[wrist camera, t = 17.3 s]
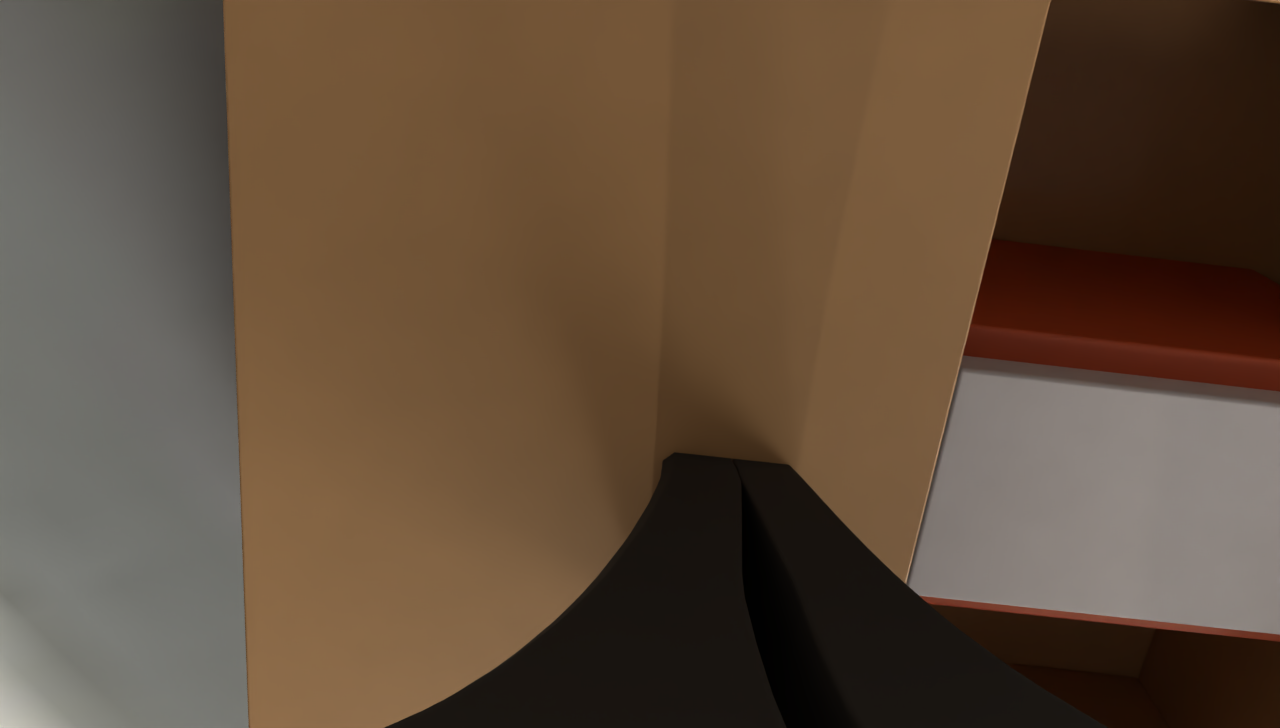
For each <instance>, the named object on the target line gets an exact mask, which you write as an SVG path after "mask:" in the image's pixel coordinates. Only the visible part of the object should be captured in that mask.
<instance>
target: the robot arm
mask: <svg viewBox="0 0 1280 728" xmlns="http://www.w3.org/2000/svg"><path fill="white" fill-rule="evenodd" d="M385 728H1108V727H1106V726H1105V725H1103V724H1101V723H1099V722H1098V721H1096V720H1094V719H1093V718H1091V717H1089V716H1088V715H1086V714H1084V713H1083V712H1081V711H1079V710H1078V709H1076V708H1075V707H1073V706H1071V705H1070V704H1068V703H1066V702H1065V701H1063V700H1061V699H1060V698H1058V697H1056V696H1055V695H1053V694H1051V693H1050V692H1048V691H1046V690H1045V689H1043V688H1042V687H1040V686H1039V685H1037V684H1036V683H1034V682H1032V681H1031V680H1029V679H1028V678H1026V677H1025V676H1023V675H1022V674H1020V673H1019V672H1017V671H1016V670H1014V669H1013V668H1011V667H1010V666H1009V665H1007V664H1006V663H1004V662H1003V661H1002V660H1000V659H999V658H998V657H996V656H995V655H994V654H992V653H991V652H989V651H988V650H987V649H985V648H984V647H983V646H981V645H980V644H979V643H977V642H976V641H974V640H973V639H972V638H970V637H969V636H968V635H966V634H965V633H964V632H962V631H961V630H960V629H958V628H957V627H956V626H955V625H953V624H952V623H951V622H950V621H948V620H947V619H946V618H945V617H943V616H942V615H941V614H940V613H938V612H937V611H936V610H935V609H934V608H933V607H931V606H930V605H929V604H928V603H927V602H926V601H925V600H924V599H922V598H921V597H920V596H919V595H918V594H917V593H916V592H914V591H913V590H912V589H911V588H910V587H909V586H908V585H906V584H905V583H904V582H903V581H902V580H901V579H900V578H899V577H898V576H896V575H895V574H894V573H893V572H892V571H891V570H890V569H889V568H888V567H887V566H886V565H885V564H884V563H883V562H882V561H881V560H880V559H879V558H878V557H877V556H876V555H875V554H874V553H873V552H872V551H871V550H869V549H868V548H867V547H866V545H865V544H864V543H863V542H862V541H861V540H860V539H859V538H858V537H857V536H856V535H855V534H854V533H853V532H852V531H851V530H850V529H849V528H848V527H847V526H846V525H845V524H844V523H843V522H842V521H841V520H840V519H839V517H838V516H837V515H836V514H835V513H834V512H833V511H832V510H831V509H830V508H829V507H828V506H827V504H826V503H825V502H824V501H823V500H822V499H821V498H820V497H819V496H818V495H817V494H816V492H815V491H814V490H813V489H812V488H811V487H810V486H809V485H808V484H807V483H806V482H805V480H804V479H803V478H802V477H801V476H800V475H799V474H798V473H797V472H796V471H795V470H794V469H793V468H792V467H791V466H790V465H788V464H779V463H770V462H760V461H751V460H741V459H731V458H723V457H714V456H705V455H696V454H686V453H677V452H674V453H673V454H671V455H670V456H669V457H667V458H666V459H664V460H663V462H662V470H661V477H660V480H659V482H658V485H657V487H656V489H655V491H654V493H653V495H652V497H651V500H650V502H649V503H648V505H647V507H646V509H645V510H644V512H643V513H642V515H641V517H640V518H639V520H638V522H637V523H636V525H635V526H634V528H633V530H632V531H631V533H630V534H629V536H628V537H627V539H626V540H625V542H624V543H623V544H622V546H621V547H620V548H619V549H618V551H617V552H616V553H615V555H614V556H613V557H612V558H611V560H610V561H609V562H608V564H607V565H606V566H605V567H604V569H603V570H602V571H601V573H600V574H599V575H598V576H597V577H596V579H595V580H594V581H593V582H592V583H591V584H590V585H589V586H588V587H587V589H586V590H585V591H584V592H583V593H582V594H581V595H580V596H579V597H578V598H577V599H576V600H575V601H574V602H573V603H572V604H571V605H570V606H569V607H568V608H567V609H566V610H565V611H564V612H563V613H562V614H561V615H560V616H559V617H558V618H557V619H556V620H555V621H553V622H552V623H551V624H550V625H549V626H548V627H546V628H545V629H544V630H543V631H542V632H540V633H539V634H538V635H537V636H536V637H535V638H533V639H532V640H531V641H530V642H529V643H527V644H526V645H525V646H524V647H523V648H521V649H520V650H519V651H518V652H516V653H515V654H514V655H512V656H511V657H510V658H508V659H507V660H506V661H504V662H503V663H501V664H500V665H499V666H497V667H496V668H494V669H493V670H491V671H490V672H488V673H487V674H485V675H483V676H482V677H480V678H479V679H477V680H475V681H474V682H472V683H471V684H469V685H467V686H466V687H464V688H463V689H461V690H459V691H458V692H456V693H455V694H453V695H451V696H449V697H448V698H446V699H444V700H442V701H440V702H438V703H436V704H434V705H432V706H431V707H429V708H427V709H425V710H423V711H420V712H418V713H416V714H414V715H411V716H409V717H407V718H405V719H402V720H400V721H398V722H396V723H393V724H391V725H389V726H387V727H385Z"/></svg>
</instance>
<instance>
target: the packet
mask: <svg viewBox="0 0 1280 728" xmlns="http://www.w3.org/2000/svg"><path fill="white" fill-rule="evenodd" d="M906 585H908V586H909V587H910V588H911V589H912V590H913V591H914V592H916V593H917V594H918V595H919V596H920V597H921V598H922V599H924V600H925V601H926V602H927V603H928V604H934V605H943V606H953V607H962V608H971V609H980V610H990V611H999V612H1008V613H1018V614H1027V615H1036V616H1045V617H1055V618H1064V619H1073V620H1082V621H1092V622H1101V623H1110V624H1120V625H1129V626H1138V627H1147V628H1157V629H1166V630H1175V631H1185V632H1194V633H1203V634H1212V635H1222V636H1231V637H1240V638H1249V639H1259V640H1268V641H1277V642H1280V285H1279V284H1277V283H1275V282H1274V281H1272V280H1270V279H1268V278H1267V277H1265V276H1263V275H1261V274H1260V273H1258V272H1256V271H1254V270H1253V269H1245V268H1236V267H1227V266H1219V265H1210V264H1202V263H1193V262H1185V261H1176V260H1167V259H1159V258H1150V257H1142V256H1133V255H1124V254H1116V253H1107V252H1099V251H1090V250H1081V249H1073V248H1064V247H1056V246H1047V245H1038V244H1030V243H1021V242H1013V241H1004V240H995V239H992V240H991V244H990V248H989V252H988V256H987V260H986V264H985V268H984V272H983V276H982V280H981V284H980V288H979V292H978V296H977V300H976V304H975V308H974V312H973V316H972V320H971V324H970V328H969V332H968V336H967V340H966V344H965V348H964V353H963V357H962V361H961V365H960V369H959V373H958V377H957V381H956V385H955V389H954V393H953V397H952V401H951V405H950V409H949V413H948V417H947V421H946V425H945V429H944V433H943V437H942V441H941V445H940V449H939V453H938V457H937V461H936V465H935V469H934V473H933V477H932V482H931V486H930V490H929V494H928V498H927V502H926V506H925V510H924V514H923V518H922V522H921V526H920V530H919V534H918V538H917V542H916V546H915V550H914V554H913V558H912V562H911V566H910V570H909V574H908V578H907V582H906Z"/></svg>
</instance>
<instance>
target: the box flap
mask: <svg viewBox="0 0 1280 728" xmlns="http://www.w3.org/2000/svg"><path fill="white" fill-rule="evenodd" d="M1050 2H1051V0H223V18H224V46H225V74H226V102H227V130H228V158H229V186H230V214H231V242H232V270H233V298H234V326H235V354H236V382H237V410H238V438H239V466H240V494H241V522H242V550H243V578H244V606H245V634H246V662H247V690H248V718H249V728H385V727H387V726H389V725H391V724H393V723H396V722H398V721H400V720H402V719H405V718H407V717H409V716H411V715H414V714H416V713H418V712H420V711H423V710H425V709H427V708H429V707H431V706H432V705H434V704H436V703H438V702H440V701H442V700H444V699H446V698H448V697H449V696H451V695H453V694H455V693H456V692H458V691H459V690H461V689H463V688H464V687H466V686H467V685H469V684H471V683H472V682H474V681H475V680H477V679H479V678H480V677H482V676H483V675H485V674H487V673H488V672H490V671H491V670H493V669H494V668H496V667H497V666H499V665H500V664H501V663H503V662H504V661H506V660H507V659H508V658H510V657H511V656H512V655H514V654H515V653H516V652H518V651H519V650H520V649H521V648H523V647H524V646H525V645H526V644H527V643H529V642H530V641H531V640H532V639H533V638H535V637H536V636H537V635H538V634H539V633H540V632H542V631H543V630H544V629H545V628H546V627H548V626H549V625H550V624H551V623H552V622H553V621H555V620H556V619H557V618H558V617H559V616H560V615H561V614H562V613H563V612H564V611H565V610H566V609H567V608H568V607H569V606H570V605H571V604H572V603H573V602H574V601H575V600H576V599H577V598H578V597H579V596H580V595H581V594H582V593H583V592H584V591H585V590H586V589H587V587H588V586H589V585H590V584H591V583H592V582H593V581H594V580H595V579H596V577H597V576H598V575H599V574H600V573H601V571H602V570H603V569H604V567H605V566H606V565H607V564H608V562H609V561H610V560H611V558H612V557H613V556H614V555H615V553H616V552H617V551H618V549H619V548H620V547H621V546H622V544H623V543H624V542H625V540H626V539H627V537H628V536H629V534H630V533H631V531H632V530H633V528H634V526H635V525H636V523H637V522H638V520H639V518H640V517H641V515H642V513H643V512H644V510H645V509H646V507H647V505H648V503H649V502H650V500H651V497H652V495H653V493H654V491H655V489H656V487H657V485H658V482H659V480H660V477H661V470H662V462H663V460H664V459H666V458H667V457H669V456H670V455H671V454H673V453H674V452H677V453H686V454H696V455H705V456H714V457H723V458H731V459H741V460H751V461H760V462H770V463H779V464H788V465H790V466H791V467H792V468H793V469H794V470H795V471H796V472H797V473H798V474H799V475H800V476H801V477H802V478H803V479H804V480H805V482H806V483H807V484H808V485H809V486H810V487H811V488H812V489H813V490H814V491H815V492H816V494H817V495H818V496H819V497H820V498H821V499H822V500H823V501H824V502H825V503H826V504H827V506H828V507H829V508H830V509H831V510H832V511H833V512H834V513H835V514H836V515H837V516H838V517H839V519H840V520H841V521H842V522H843V523H844V524H845V525H846V526H847V527H848V528H849V529H850V530H851V531H852V532H853V533H854V534H855V535H856V536H857V537H858V538H859V539H860V540H861V541H862V542H863V543H864V544H865V545H866V547H867V548H868V549H869V550H871V551H872V552H873V553H874V554H875V555H876V556H877V557H878V558H879V559H880V560H881V561H882V562H883V563H884V564H885V565H886V566H887V567H888V568H889V569H890V570H891V571H892V572H893V573H894V574H895V575H896V576H898V577H899V578H900V579H901V580H902V581H903V582H904V583H905V584H906V582H907V578H908V574H909V570H910V566H911V562H912V558H913V554H914V550H915V546H916V542H917V538H918V534H919V530H920V526H921V522H922V518H923V514H924V510H925V506H926V502H927V498H928V494H929V490H930V486H931V482H932V477H933V473H934V469H935V465H936V461H937V457H938V453H939V449H940V445H941V441H942V437H943V433H944V429H945V425H946V421H947V417H948V413H949V409H950V405H951V401H952V397H953V393H954V389H955V385H956V381H957V377H958V373H959V369H960V365H961V361H962V357H963V353H964V348H965V344H966V340H967V336H968V332H969V328H970V324H971V320H972V316H973V312H974V308H975V304H976V300H977V296H978V292H979V288H980V284H981V280H982V276H983V272H984V268H985V264H986V260H987V256H988V252H989V248H990V244H991V240H992V236H993V232H994V228H995V224H996V220H997V215H998V211H999V207H1000V203H1001V199H1002V195H1003V191H1004V187H1005V183H1006V179H1007V175H1008V171H1009V167H1010V163H1011V159H1012V155H1013V151H1014V147H1015V143H1016V139H1017V135H1018V131H1019V127H1020V123H1021V119H1022V115H1023V111H1024V107H1025V103H1026V99H1027V95H1028V91H1029V86H1030V82H1031V78H1032V74H1033V70H1034V66H1035V62H1036V58H1037V54H1038V50H1039V46H1040V42H1041V38H1042V34H1043V30H1044V26H1045V22H1046V18H1047V14H1048V10H1049V6H1050Z"/></svg>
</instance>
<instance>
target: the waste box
mask: <svg viewBox="0 0 1280 728" xmlns="http://www.w3.org/2000/svg"><path fill="white" fill-rule="evenodd" d="M992 239H995V240H1004V241H1013V242H1021V243H1030V244H1038V245H1047V246H1056V247H1064V248H1073V249H1081V250H1090V251H1099V252H1107V253H1116V254H1124V255H1133V256H1142V257H1150V258H1159V259H1167V260H1176V261H1185V262H1193V263H1202V264H1210V265H1219V266H1227V267H1236V268H1245V269H1253V270H1254V271H1256V272H1258V273H1260V274H1261V275H1263V276H1265V277H1267V278H1268V279H1270V280H1272V281H1274V282H1275V283H1277V284H1279V285H1280V0H1051V2H1050V6H1049V10H1048V14H1047V18H1046V22H1045V26H1044V30H1043V34H1042V38H1041V42H1040V46H1039V50H1038V54H1037V58H1036V62H1035V66H1034V70H1033V74H1032V78H1031V82H1030V86H1029V91H1028V95H1027V99H1026V103H1025V107H1024V111H1023V115H1022V119H1021V123H1020V127H1019V131H1018V135H1017V139H1016V143H1015V147H1014V151H1013V155H1012V159H1011V163H1010V167H1009V171H1008V175H1007V179H1006V183H1005V187H1004V191H1003V195H1002V199H1001V203H1000V207H999V211H998V215H997V220H996V224H995V228H994V232H993V236H992ZM929 605H930V606H931V607H933V608H934V609H935V610H936V611H937V612H938V613H940V614H941V615H942V616H943V617H945V618H946V619H947V620H948V621H950V622H951V623H952V624H953V625H955V626H956V627H957V628H958V629H960V630H961V631H962V632H964V633H965V634H966V635H968V636H969V637H970V638H972V639H973V640H974V641H976V642H977V643H979V644H980V645H981V646H983V647H984V648H985V649H987V650H988V651H989V652H991V653H992V654H994V655H995V656H996V657H998V658H999V659H1000V660H1002V661H1003V662H1004V663H1006V664H1007V665H1009V666H1010V667H1011V668H1013V669H1014V670H1016V671H1017V672H1019V673H1020V674H1022V675H1023V676H1025V677H1026V678H1028V679H1029V680H1031V681H1032V682H1034V683H1036V684H1037V685H1039V686H1040V687H1042V688H1043V689H1045V690H1046V691H1048V692H1050V693H1051V694H1053V695H1055V696H1056V697H1058V698H1060V699H1061V700H1063V701H1065V702H1066V703H1068V704H1070V705H1071V706H1073V707H1075V708H1076V709H1078V710H1079V711H1081V712H1083V713H1084V714H1086V715H1088V716H1089V717H1091V718H1093V719H1094V720H1096V721H1098V722H1099V723H1101V724H1103V725H1105V726H1106V727H1108V728H1280V642H1277V641H1268V640H1259V639H1249V638H1240V637H1231V636H1222V635H1212V634H1203V633H1194V632H1185V631H1175V630H1166V629H1157V628H1147V627H1138V626H1129V625H1120V624H1110V623H1101V622H1092V621H1082V620H1073V619H1064V618H1055V617H1045V616H1036V615H1027V614H1018V613H1008V612H999V611H990V610H980V609H971V608H962V607H953V606H943V605H934V604H929Z"/></svg>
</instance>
